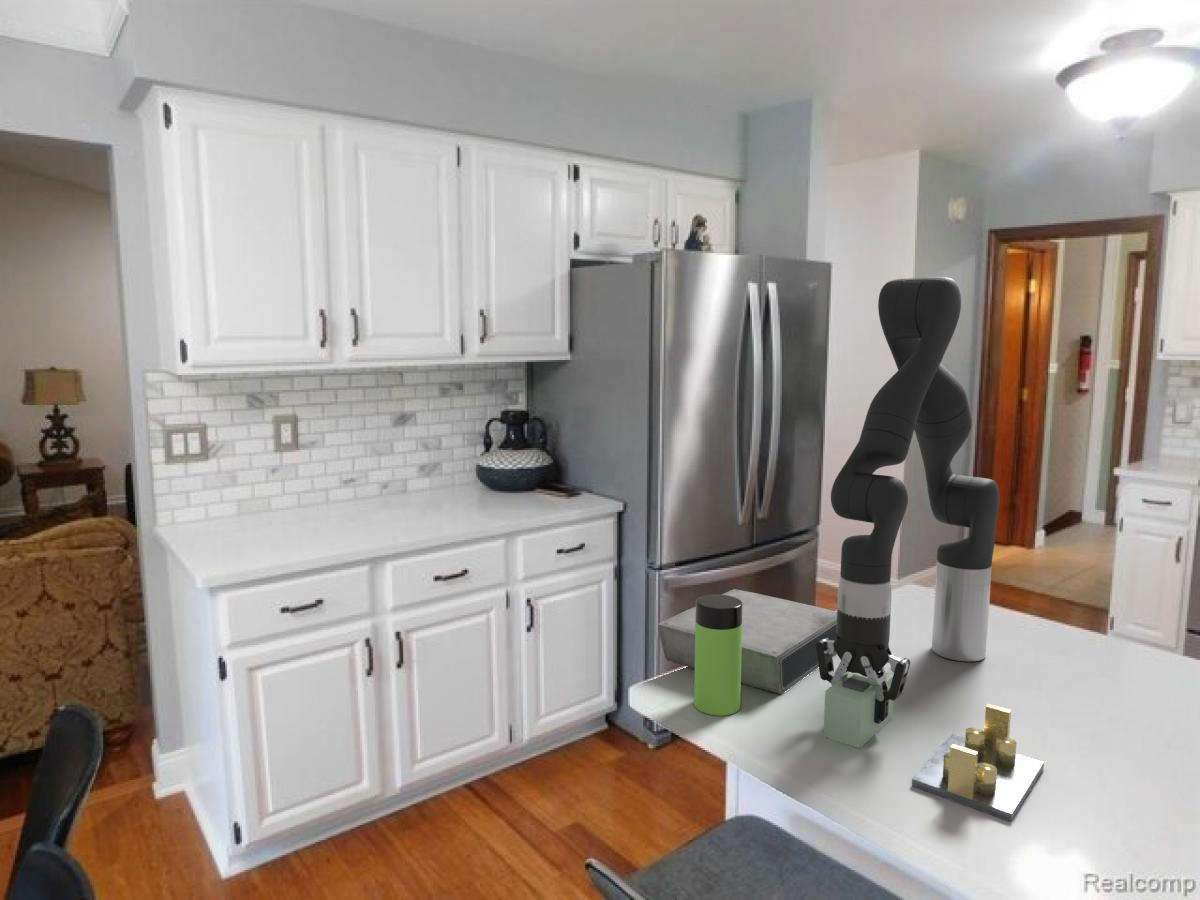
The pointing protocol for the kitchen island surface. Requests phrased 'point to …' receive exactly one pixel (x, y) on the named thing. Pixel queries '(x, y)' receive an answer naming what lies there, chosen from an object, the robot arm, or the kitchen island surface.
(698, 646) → the tumbler
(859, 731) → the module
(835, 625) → the speaker
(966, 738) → the metal plate
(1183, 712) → the kitchen island surface
